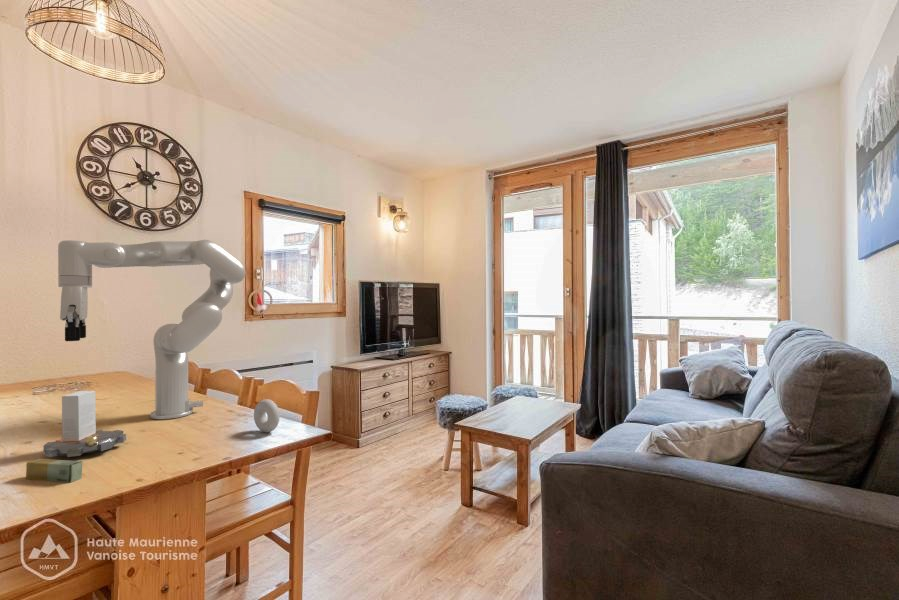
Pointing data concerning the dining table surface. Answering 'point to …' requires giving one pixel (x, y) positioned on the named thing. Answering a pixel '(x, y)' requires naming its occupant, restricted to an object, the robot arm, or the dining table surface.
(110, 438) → the notched metal plate
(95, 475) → the dining table surface
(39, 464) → the medication box
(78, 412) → the skincare box
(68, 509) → the dining table surface
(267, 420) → the donut
